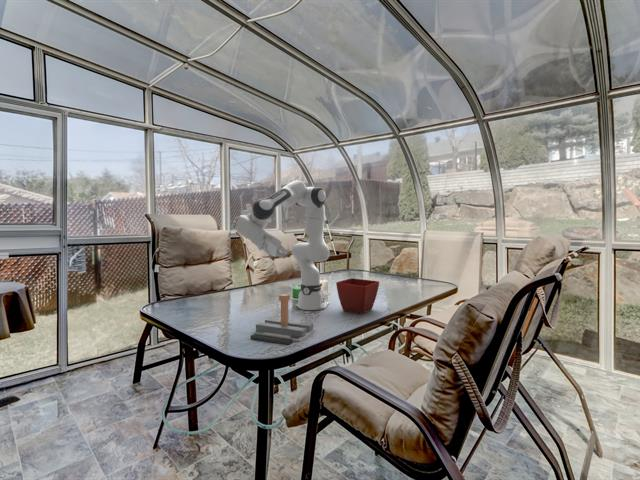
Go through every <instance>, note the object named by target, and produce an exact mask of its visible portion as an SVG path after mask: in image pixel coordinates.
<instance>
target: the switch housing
mask: <svg viewBox="0 0 640 480" xmlns="http://www.w3.org/2000/svg"><path fill="white" fill-rule="evenodd" d="M315 331H316V328H314V323H312V322H304V321H296V320H289V319H288V326H285V325H281V318H272V317H268V318H266V319H264V321H263V322H262V321H260V322H258V323H256V324H255V331H253V332H252V335H254V334H261V335H268V336H275V337H281V338H288V339H292V340H293V341H295V342H301V341H303V340H305V339H306V338H307V337H309V336H310V335H311V334H312V333H314V332H315Z"/></svg>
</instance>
